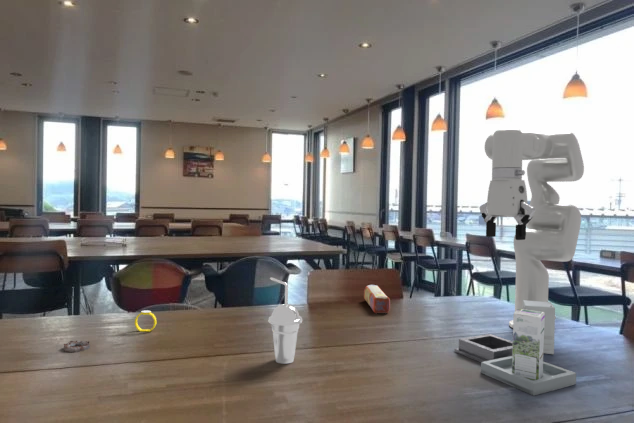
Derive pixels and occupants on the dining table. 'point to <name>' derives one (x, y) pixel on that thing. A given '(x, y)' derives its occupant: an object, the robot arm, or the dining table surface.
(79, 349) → the donut
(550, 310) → the supplement box
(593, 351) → the dining table surface
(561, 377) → the tray
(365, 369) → the dining table surface
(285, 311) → the cup with straw
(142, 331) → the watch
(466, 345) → the socket
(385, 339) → the dining table surface
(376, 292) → the snack package
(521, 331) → the syrup box
